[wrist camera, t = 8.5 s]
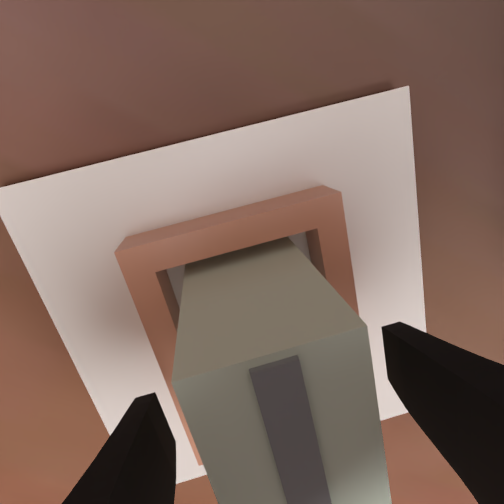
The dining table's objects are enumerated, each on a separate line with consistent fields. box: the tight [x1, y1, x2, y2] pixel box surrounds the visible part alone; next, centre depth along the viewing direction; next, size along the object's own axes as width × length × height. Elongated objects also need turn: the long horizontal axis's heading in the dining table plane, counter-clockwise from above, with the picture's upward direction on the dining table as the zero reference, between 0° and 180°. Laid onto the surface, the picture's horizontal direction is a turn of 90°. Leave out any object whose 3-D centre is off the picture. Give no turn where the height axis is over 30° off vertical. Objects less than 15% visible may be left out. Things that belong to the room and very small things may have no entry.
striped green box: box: [171, 236, 392, 504], centre depth 11 cm, size 6×4×7 cm, turn 12°
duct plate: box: [0, 86, 426, 484], centre depth 14 cm, size 15×15×3 cm
